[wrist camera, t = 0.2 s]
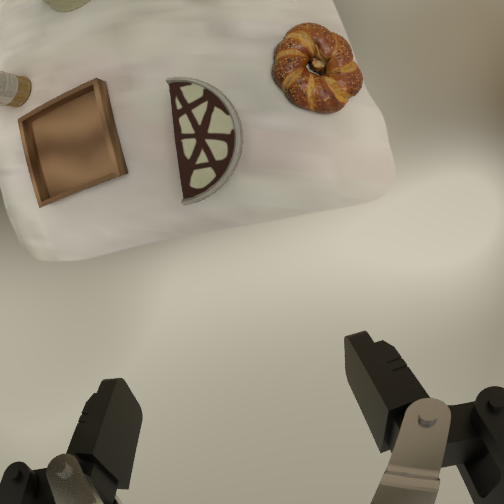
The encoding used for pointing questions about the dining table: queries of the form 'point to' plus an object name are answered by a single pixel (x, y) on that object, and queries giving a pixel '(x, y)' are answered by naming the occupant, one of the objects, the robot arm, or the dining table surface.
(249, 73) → the dining table surface
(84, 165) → the box
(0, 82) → the sprinkles bottle
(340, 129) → the dining table surface
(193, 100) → the food container
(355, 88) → the pretzel
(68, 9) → the can
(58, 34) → the dining table surface
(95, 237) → the dining table surface
